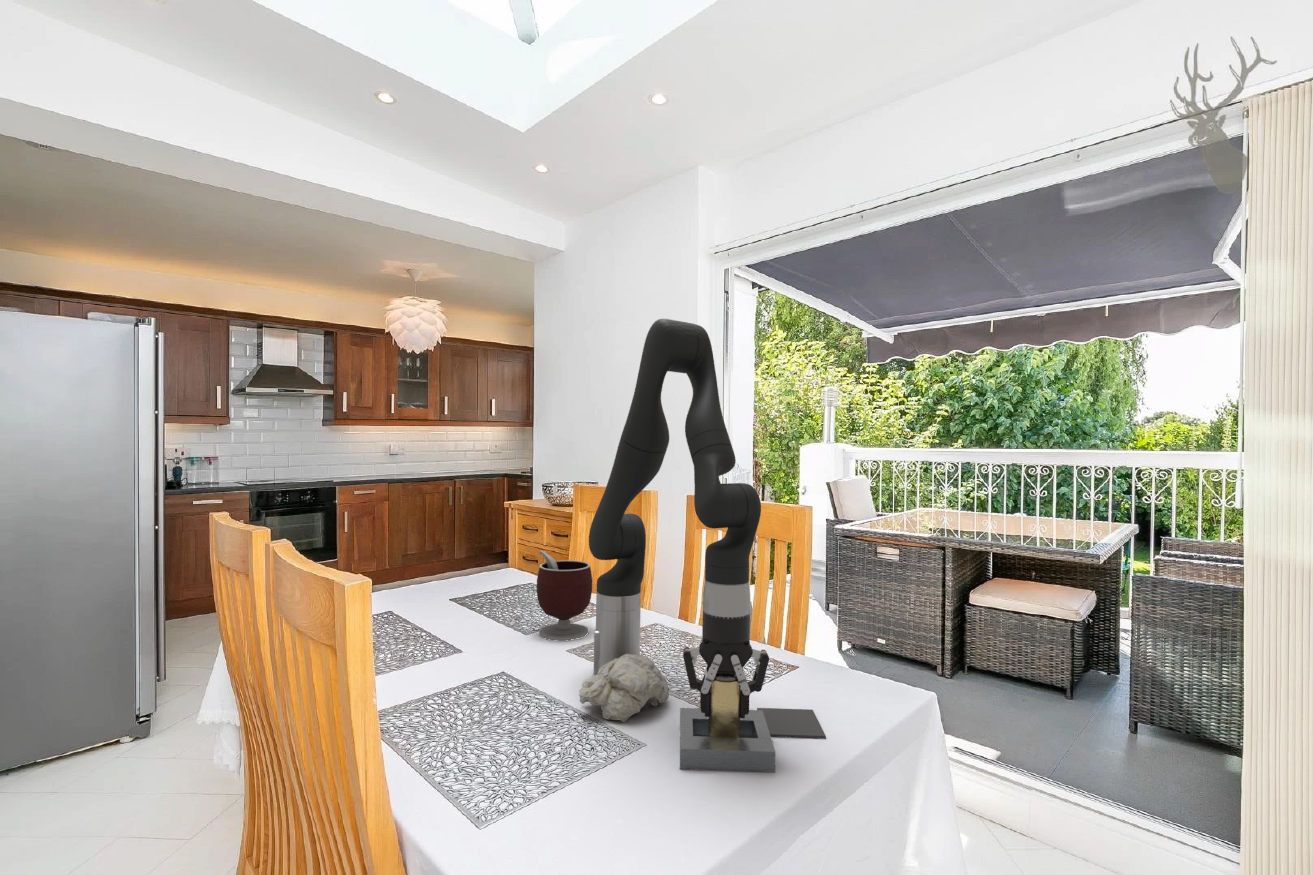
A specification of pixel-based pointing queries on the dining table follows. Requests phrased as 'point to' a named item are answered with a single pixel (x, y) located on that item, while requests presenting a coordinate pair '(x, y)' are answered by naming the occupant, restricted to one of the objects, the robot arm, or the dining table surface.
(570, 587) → the mate gourd
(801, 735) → the mat
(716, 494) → the robot arm
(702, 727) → the block
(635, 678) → the mineral
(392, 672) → the dining table surface
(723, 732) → the tan cylinder
